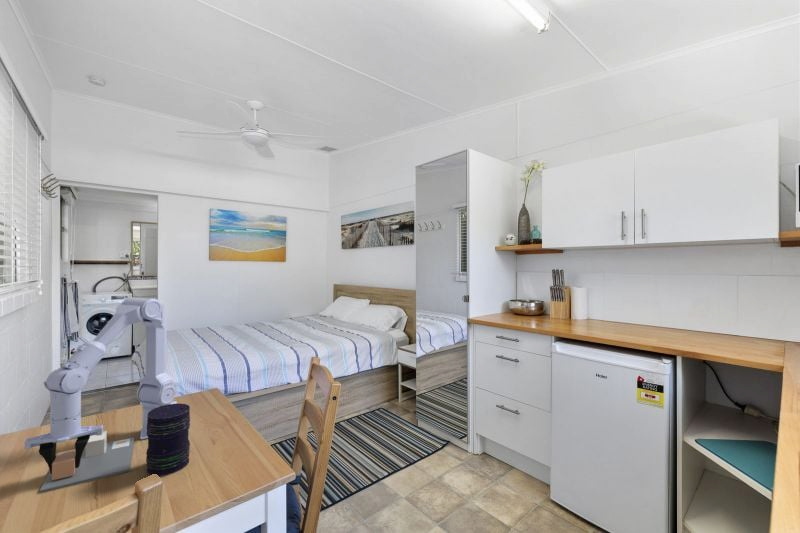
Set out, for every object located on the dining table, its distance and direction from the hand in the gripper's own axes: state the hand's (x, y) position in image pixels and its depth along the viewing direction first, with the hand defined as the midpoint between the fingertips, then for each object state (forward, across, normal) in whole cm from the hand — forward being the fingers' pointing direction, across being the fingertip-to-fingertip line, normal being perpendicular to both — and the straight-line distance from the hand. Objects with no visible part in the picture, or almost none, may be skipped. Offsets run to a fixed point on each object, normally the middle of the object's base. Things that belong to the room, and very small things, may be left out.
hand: (65, 468), depth 92 cm
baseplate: (+2, +5, +4) cm, 7 cm away
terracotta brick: (+1, 0, 0) cm, 1 cm away
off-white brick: (+1, +5, +10) cm, 11 cm away
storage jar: (+2, +22, -8) cm, 23 cm away
